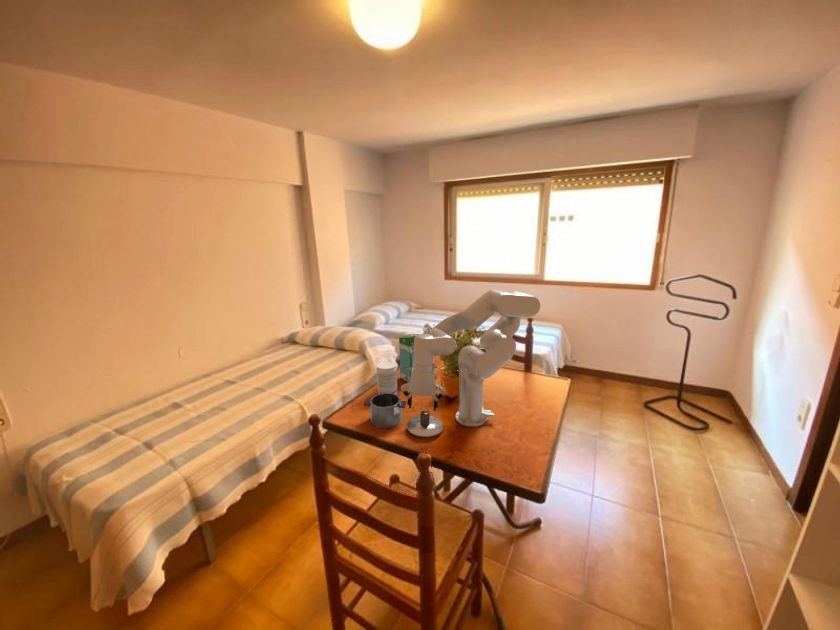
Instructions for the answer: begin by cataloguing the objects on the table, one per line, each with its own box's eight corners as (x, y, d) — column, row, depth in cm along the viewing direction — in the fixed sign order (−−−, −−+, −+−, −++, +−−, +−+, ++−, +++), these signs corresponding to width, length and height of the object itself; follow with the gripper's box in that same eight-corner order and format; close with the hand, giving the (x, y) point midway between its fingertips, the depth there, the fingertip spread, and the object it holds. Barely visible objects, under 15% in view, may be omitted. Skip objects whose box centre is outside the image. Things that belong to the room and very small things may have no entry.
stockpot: (409, 412, 146) (408, 394, 144) (403, 429, 134) (402, 409, 132) (370, 410, 149) (369, 391, 146) (361, 426, 136) (360, 406, 134)
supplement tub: (401, 394, 163) (400, 366, 159) (383, 399, 158) (382, 370, 154) (391, 386, 171) (390, 359, 167) (374, 391, 165) (372, 364, 162)
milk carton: (413, 373, 186) (412, 329, 180) (423, 378, 179) (423, 333, 173) (400, 377, 181) (398, 333, 174) (410, 383, 174) (409, 337, 168)
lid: (443, 421, 140) (443, 405, 138) (441, 441, 127) (441, 424, 125) (410, 418, 142) (410, 403, 140) (404, 438, 128) (404, 421, 126)
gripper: (447, 364, 130) (445, 405, 134) (403, 361, 132) (402, 401, 136) (445, 372, 123) (444, 414, 127) (399, 368, 125) (398, 410, 129)
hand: (422, 407), depth 131 cm, fingers open, 9 cm apart
